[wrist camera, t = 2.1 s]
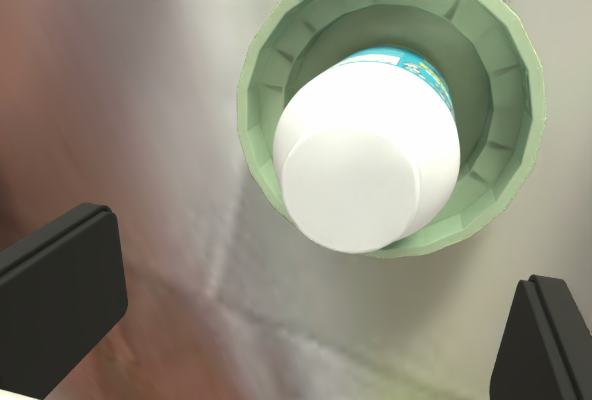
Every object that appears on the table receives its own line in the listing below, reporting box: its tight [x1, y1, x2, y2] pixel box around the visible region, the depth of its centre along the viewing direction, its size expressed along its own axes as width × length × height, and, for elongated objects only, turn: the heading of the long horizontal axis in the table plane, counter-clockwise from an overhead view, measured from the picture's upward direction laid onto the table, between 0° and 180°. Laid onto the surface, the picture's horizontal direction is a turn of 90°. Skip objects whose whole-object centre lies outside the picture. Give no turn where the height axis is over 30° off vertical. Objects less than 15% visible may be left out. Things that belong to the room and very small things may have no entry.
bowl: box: [237, 0, 547, 259], centre depth 25 cm, size 15×15×5 cm
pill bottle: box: [273, 44, 460, 254], centre depth 21 cm, size 8×7×14 cm
